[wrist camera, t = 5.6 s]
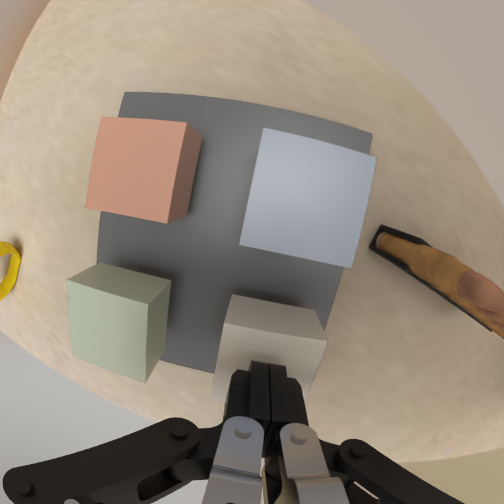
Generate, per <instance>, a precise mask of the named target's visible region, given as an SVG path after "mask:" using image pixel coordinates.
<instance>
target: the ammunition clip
mask: <svg viewBox="0 0 504 504" xmlns="http://www.w3.org/2000/svg"><path fill="white" fill-rule="evenodd" d="M369 248H370V249H371V250H372V251H374V252H376V253H377V254H379V255H380V256H382V257H383V258H385V259H387V260H388V261H390V262H391V263H393V264H394V265H396V266H397V267H399V268H401V269H402V270H404V271H405V272H407V273H408V274H410V275H411V276H413V277H414V278H416V279H417V280H419V281H420V282H422V283H423V284H425V285H426V286H427V287H429V288H430V289H432V290H433V291H435V292H436V293H438V294H439V295H440V296H442V297H443V298H445V299H446V300H448V301H449V302H450V303H452V304H453V305H455V306H456V307H457V308H459V309H460V310H462V311H463V312H464V313H466V314H467V315H469V316H470V317H472V318H473V319H474V320H476V321H477V322H478V323H480V324H481V325H483V326H484V327H485V328H487V329H488V330H489V331H491V332H492V331H494V332H495V333H496V334H498V335H499V336H500V337H502V338H503V339H504V292H503V291H502V290H501V289H500V288H499V287H498V286H497V285H496V284H494V283H493V282H492V281H491V280H489V279H488V278H486V277H485V276H483V275H481V274H479V273H477V272H475V271H474V270H473V269H471V268H469V267H467V266H465V265H464V264H462V263H461V262H460V261H459V260H458V259H456V258H455V257H454V256H452V255H449V254H447V253H444V252H442V251H440V250H437V249H435V248H433V247H432V246H430V245H429V244H428V243H426V242H425V241H424V240H423V239H421V238H418V237H415V236H412V235H410V234H407V233H404V232H401V231H399V230H396V229H393V228H390V227H387V226H384V225H381V226H380V228H379V230H378V232H377V233H376V235H375V237H374V239H373V241H372V243H371V244H370V246H369Z"/></svg>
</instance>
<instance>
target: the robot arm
mask: <svg viewBox="0 0 504 504" xmlns="http://www.w3.org/2000/svg"><path fill="white" fill-rule="evenodd" d="M261 458H265V465H264V467H263V469H262V472H261V476H262V477H260V467H261ZM206 479H209V480H208V484H207V487H206V491H205V494H204V498H203V501H202V504H260V502H261V492H262V486H263V496H264V504H464V503H462V502H460V501H459V500H457V499H455V498H453V497H451V496H449V495H448V494H446V493H444V492H442V491H441V490H439V489H437V488H435V487H433V486H432V485H430V484H429V483H427V482H425V481H423V480H422V479H420V478H419V477H417V476H415V475H414V474H412V473H411V472H409V471H407V470H406V469H404V468H402V467H401V466H400V465H398V464H397V463H395V462H394V461H392V460H391V459H389V458H388V457H386V456H385V455H383V454H382V453H380V452H379V451H377V450H376V449H374V448H373V447H372V446H370V445H369V444H367V443H366V442H364V441H362V440H358V439H348V440H345V441H344V442H342V443H341V445H340V446H339V445H335V444H332V443H328V442H325V441H322V440H320V439H318V436H317V434H316V432H315V431H314V430H313V429H312V428H310V427H309V424H308V419H307V413H306V408H305V403H304V398H303V392H302V387H301V385H300V384H299V382H298V381H297V380H296V378H290V377H287V371H286V366H284V365H278V364H271V363H269V364H268V363H265V362H259V361H253V360H251V362H250V365H249V369H248V371H246V370H240V369H237V370H236V371H235V372H234V373H233V374H232V375H231V380H230V384H229V388H228V393H227V397H226V402H225V409H224V415H223V421H222V423H221V424H219V425H218V426H215V427H212V428H198V427H197V426H196V425H195V424H194V423H192V422H191V421H189V420H186V419H183V418H176V417H175V418H168V419H165V420H163V421H161V422H158V423H156V424H153V425H151V426H149V427H146V428H144V429H141V430H139V431H136V432H134V433H131V434H129V435H126V436H123V437H121V438H118V439H115V440H113V441H110V442H107V443H104V444H101V445H98V446H95V447H92V448H89V449H86V450H83V451H80V452H76V453H73V454H69V455H66V456H62V457H59V458H55V459H51V460H47V461H43V462H39V463H35V464H30V465H25V466H20V467H16V468H12V469H10V470H9V471H7V472H6V473H5V475H4V478H3V488H4V491H5V493H6V495H7V496H8V497H9V499H10V500H11V501H12V502H13V503H14V504H151V503H153V502H155V501H157V500H159V499H161V498H163V497H165V496H166V495H168V494H170V493H172V492H174V491H176V490H177V489H180V488H181V487H183V486H185V485H187V484H188V483H190V482H191V481H192V480H206ZM354 482H357V483H358V484H360V485H361V486H362V487H364V488H365V489H366V490H368V491H369V492H371V493H372V494H374V495H375V496H376V497H378V498H379V499H376V498H374V497H372V496H371V495H369V494H368V493H367V492H365V491H364V490H362V489H361V488H360V487H358V486H357V485H356V484H354Z"/></svg>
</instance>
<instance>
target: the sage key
mask: <svg viewBox="0 0 504 504" xmlns="http://www.w3.org/2000/svg"><path fill="white" fill-rule="evenodd" d="M170 288H171V280H168V279H164V278H160V277H156V276H152V275H148V274H144V273H140V272H136V271H132V270H128V269H124V268H121V267H117V266H113V265H109V264H106V263H102V262H100V263H98V264H96V265H94V266H92V267H90V268H88V269H86V270H84V271H82V272H81V273H79V274H77V275H75V276H73V277H71V278H69V279H67V297H68V315H69V327H70V337H71V346H72V354H73V356H75V357H77V358H80V359H82V360H84V361H87V362H89V363H92V364H94V365H97V366H99V367H102V368H104V369H107V370H110V371H112V372H115V373H118V374H120V375H123V376H126V377H129V378H132V379H135V380H138V381H141V382H144V383H146V381H147V379H148V378H149V376H150V374H151V372H152V371H153V369H154V367H155V366H156V364H157V362H158V360H159V359H160V357H161V355H162V353H163V352H164V350H165V340H166V328H167V317H168V307H169V297H170Z"/></svg>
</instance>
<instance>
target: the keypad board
mask: <svg viewBox="0 0 504 504" xmlns="http://www.w3.org/2000/svg"><path fill="white" fill-rule="evenodd" d="M118 117H119V118H140V119H154V120H166V121H176V122H186V123H188V124H189V125H190V126H191V127H193V128H194V129H195V130H196V131H197V132H198V133H199V134H201V135H202V136H203V138H202V142H201V147H200V151H199V156H198V161H197V166H196V171H195V176H194V181H193V186H192V191H191V197H190V202H189V208H188V213H187V217H184V218H181V219H178V220H176V221H173V222H170V223H168V224H167V223H162V222H157V221H151V220H146V219H141V218H136V217H131V216H126V215H121V214H116V213H110V212H105V211H101V214H100V224H99V235H98V249H97V264H98V263H100V262H102V263H106V264H109V265H113V266H117V267H121V268H124V269H128V270H132V271H136V272H140V273H144V274H148V275H152V276H156V277H160V278H164V279H168V280H171V288H170V297H169V307H168V317H167V328H166V340H165V350H164V352H163V353H162V355H161V357H160V359H159V360H162V361H166V362H169V363H173V364H177V365H181V366H184V367H188V368H192V369H197V370H201V371H205V372H210V373H214V374H215V368H216V363H217V357H218V352H219V347H220V341H221V336H222V331H223V325H224V321H225V317H226V314H227V310H228V307H229V303H230V300H231V296H232V294H235V295H240V296H245V297H250V298H254V299H259V300H265V301H270V302H275V303H280V304H285V305H291V306H296V307H302V308H307V309H313V310H315V311H316V314H317V316H318V318H319V321H320V323H321V326H322V328H323V330H324V329H325V326H326V323H327V320H328V317H329V314H330V311H331V307H332V304H333V301H334V298H335V295H336V291H337V288H338V284H339V281H340V278H341V274H342V271H343V266H338V265H333V264H328V263H324V262H319V261H314V260H309V259H305V258H300V257H295V256H290V255H286V254H281V253H276V252H271V251H267V250H262V249H257V248H252V247H247V246H243V245H239V243H240V238H241V233H242V228H243V223H244V218H245V213H246V209H247V204H248V199H249V194H250V189H251V184H252V180H253V175H254V170H255V165H256V161H257V156H258V151H259V146H260V142H261V137H262V132H263V128H267V129H272V130H277V131H282V132H286V133H291V134H295V135H299V136H303V137H307V138H311V139H315V140H319V141H323V142H327V143H330V144H334V145H338V146H341V147H344V148H348V149H351V150H354V151H358V152H361V153H364V154H367V155H369V152H370V146H371V140H372V134H371V133H368V132H365V131H362V130H359V129H356V128H353V127H350V126H346V125H343V124H340V123H336V122H333V121H329V120H326V119H322V118H318V117H314V116H310V115H306V114H302V113H298V112H294V111H289V110H285V109H280V108H275V107H270V106H265V105H260V104H254V103H248V102H242V101H236V100H229V99H222V98H214V97H206V96H196V95H185V94H172V93H152V92H125V93H124V96H123V100H122V103H121V107H120V111H119V115H118Z"/></svg>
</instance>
